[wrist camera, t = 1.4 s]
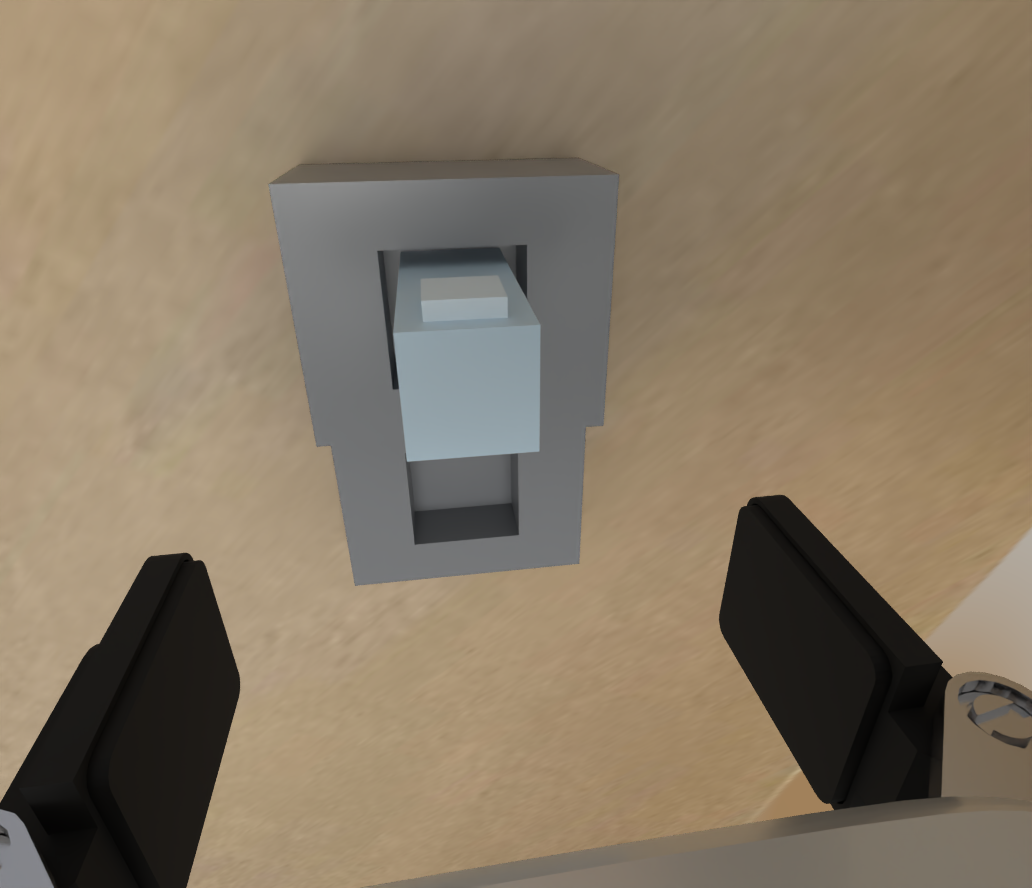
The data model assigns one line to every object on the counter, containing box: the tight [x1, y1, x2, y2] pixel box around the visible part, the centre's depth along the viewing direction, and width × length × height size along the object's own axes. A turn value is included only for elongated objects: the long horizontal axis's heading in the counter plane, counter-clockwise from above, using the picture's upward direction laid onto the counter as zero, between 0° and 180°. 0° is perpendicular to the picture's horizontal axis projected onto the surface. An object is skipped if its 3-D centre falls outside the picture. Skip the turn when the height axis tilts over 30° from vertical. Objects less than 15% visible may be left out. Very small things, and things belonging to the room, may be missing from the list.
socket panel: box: [268, 158, 619, 586], centre depth 30 cm, size 12×20×6 cm, turn 0°
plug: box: [393, 248, 541, 462], centre depth 23 cm, size 4×5×10 cm
